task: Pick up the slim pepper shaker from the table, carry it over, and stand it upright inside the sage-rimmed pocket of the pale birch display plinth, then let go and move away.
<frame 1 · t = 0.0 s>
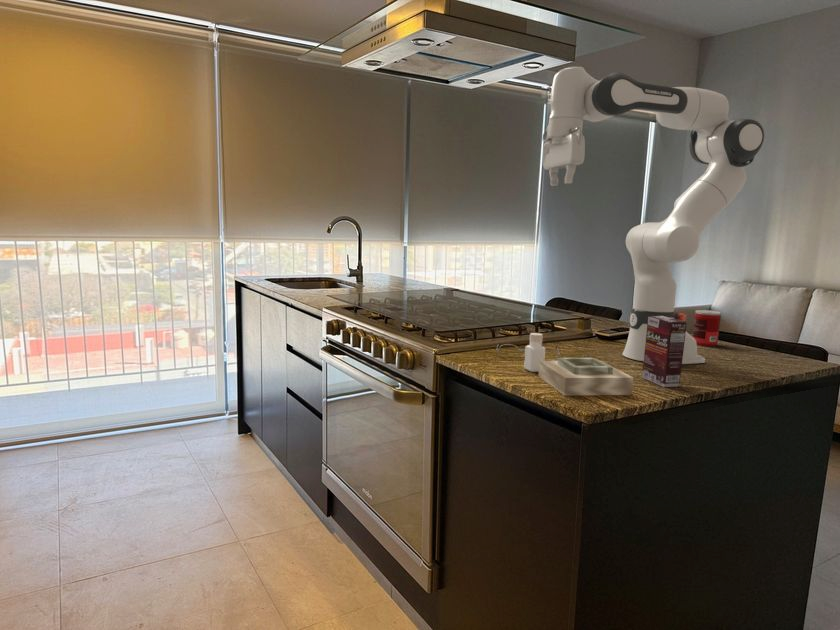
hand: (560, 184, 157), 48 cm above the worktop, fingers open, 8 cm apart
canned food: (704, 344, 194), on the worktop
display plinth: (582, 385, 137), on the worktop
pepper shaker: (533, 371, 149), on the worktop
eyeglasses: (527, 353, 172), on the worktop
supplement box: (660, 383, 142), on the worktop
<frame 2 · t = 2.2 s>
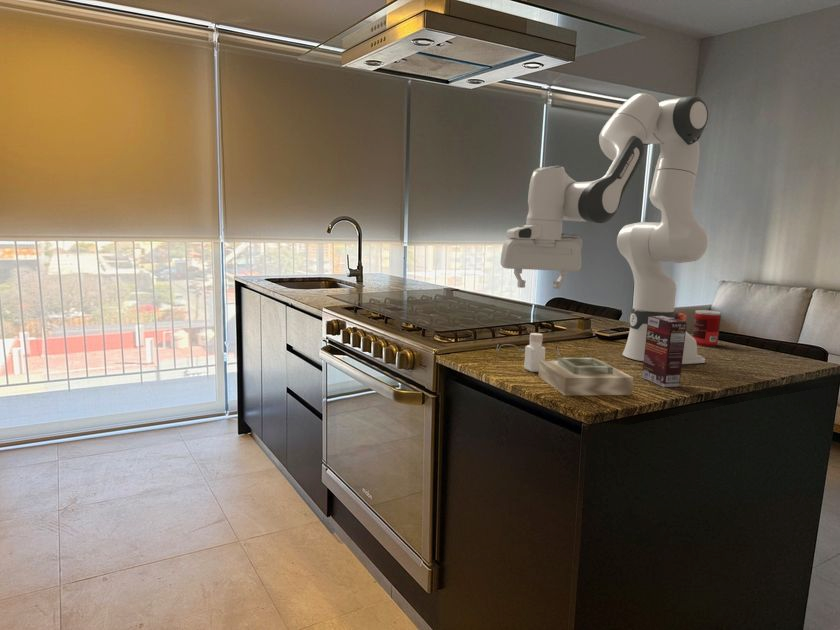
hand: (539, 288, 146), 21 cm above the worktop, fingers open, 8 cm apart
nothing on the worktop moved.
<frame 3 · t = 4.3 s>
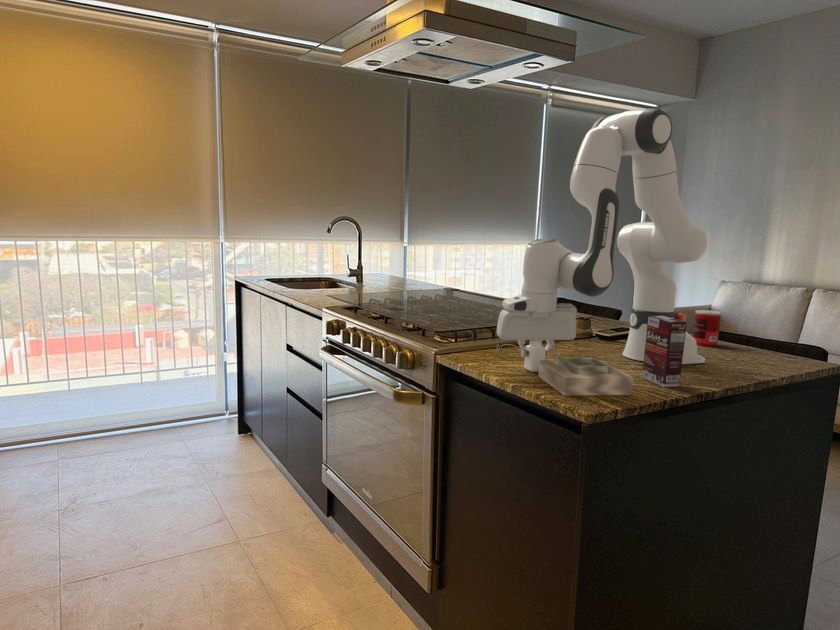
hand: (534, 356, 149), 4 cm above the worktop, fingers closed on pepper shaker, 4 cm apart
pepper shaker: (533, 371, 149), on the worktop, touching gripper
everything else where it was.
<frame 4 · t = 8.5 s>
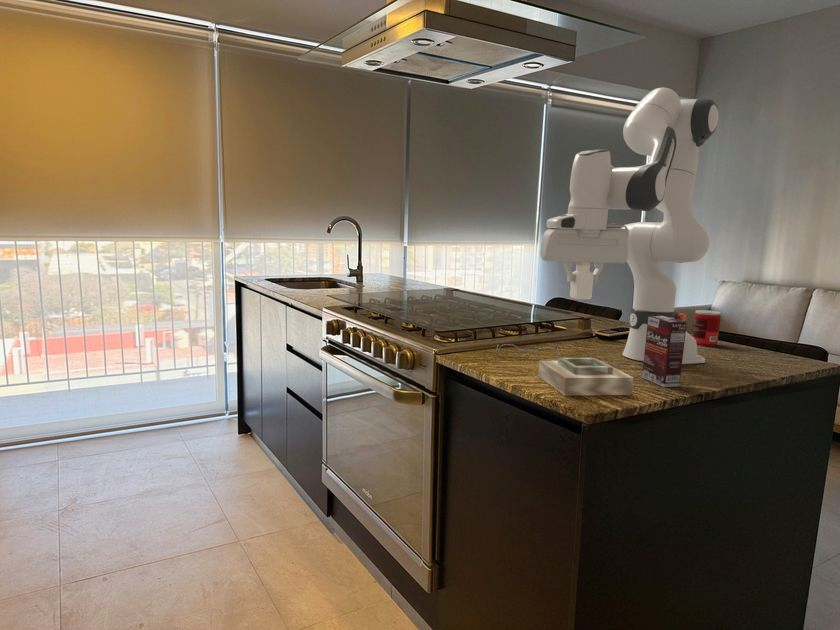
hand: (581, 281, 135), 24 cm above the worktop, fingers closed on pepper shaker, 4 cm apart
pepper shaker: (580, 299, 136), point 20 cm above the worktop, touching gripper
everything else where it was.
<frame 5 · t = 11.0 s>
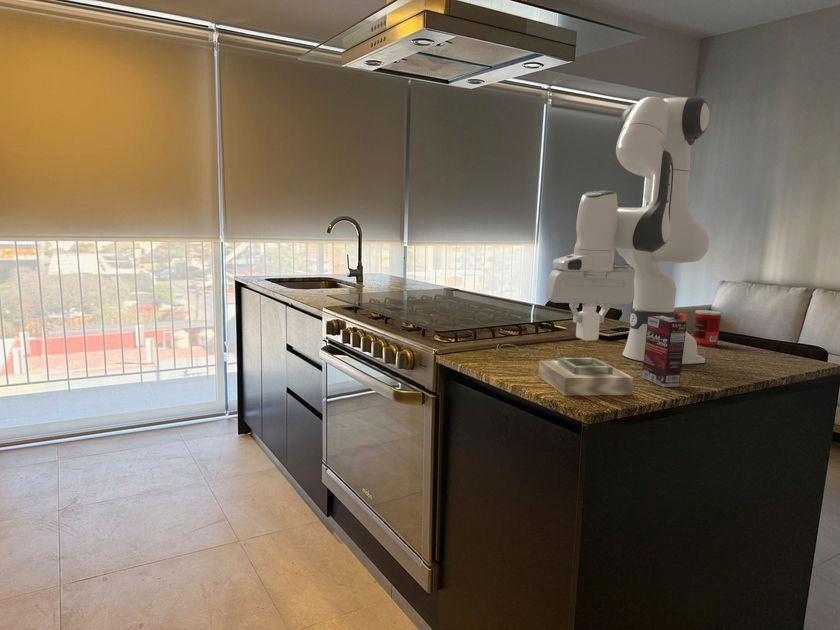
hand: (588, 322, 134), 15 cm above the worktop, fingers closed on pepper shaker, 4 cm apart
pepper shaker: (586, 339, 135), point 11 cm above the worktop, touching gripper
everything else where it was.
when the fingers open (9 cm above the worktop, at t = 12.9 s): pepper shaker drops 1 cm, resting on display plinth.
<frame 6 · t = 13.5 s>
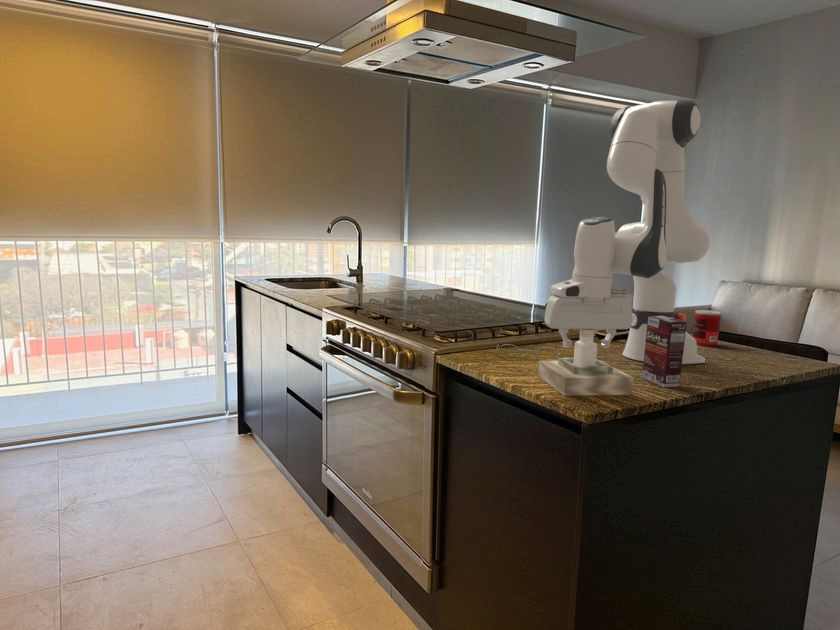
hand: (586, 347, 135), 9 cm above the worktop, fingers open, 8 cm apart
pepper shaker: (584, 369, 136), point 4 cm above the worktop, touching display plinth
everything else where it was.
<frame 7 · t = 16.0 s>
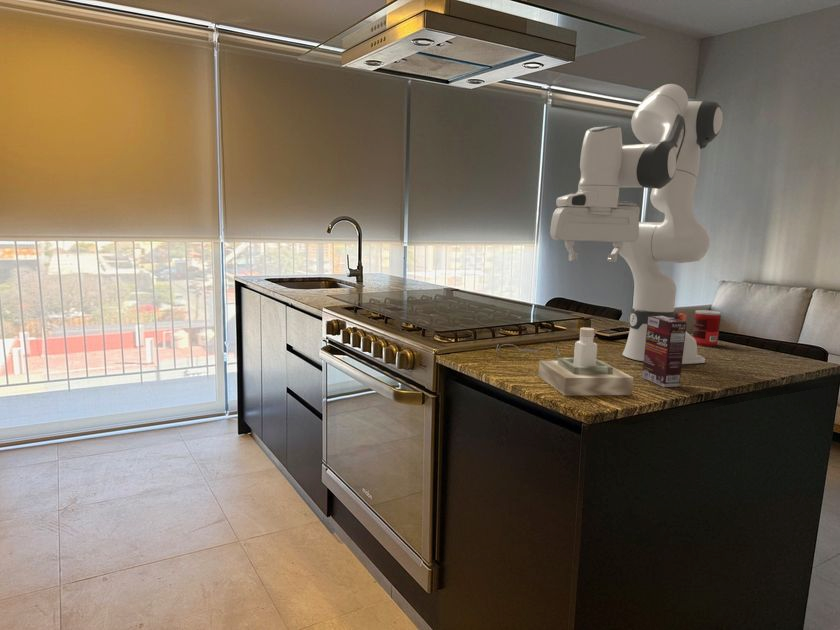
hand: (592, 261, 133), 29 cm above the worktop, fingers open, 8 cm apart
nothing on the worktop moved.
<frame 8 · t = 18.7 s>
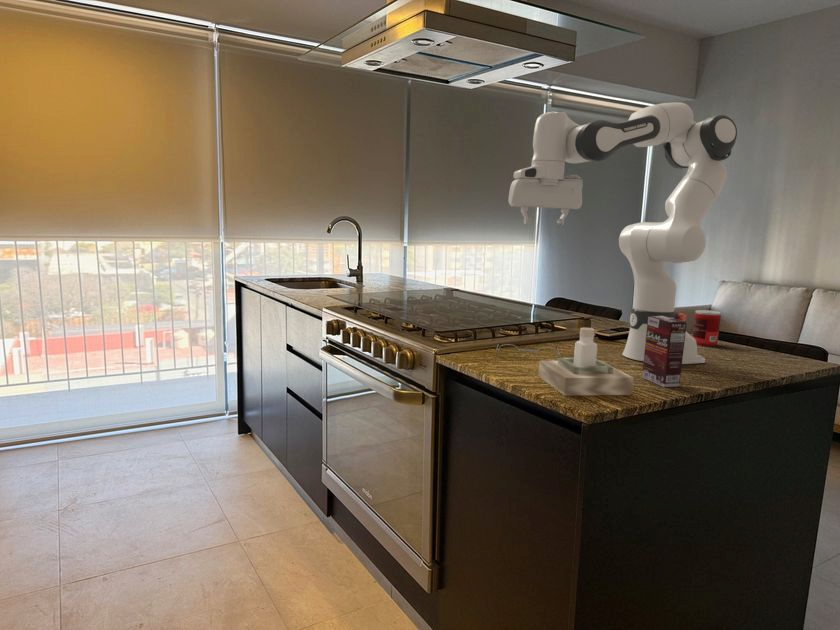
hand: (543, 224, 160), 37 cm above the worktop, fingers open, 8 cm apart
nothing on the worktop moved.
at the end: pepper shaker 0.1 cm off-centre on the display plinth, point 3.8 cm above the display plinth's base; pepper shaker tilted 0°; the gripper is holding nothing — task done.
